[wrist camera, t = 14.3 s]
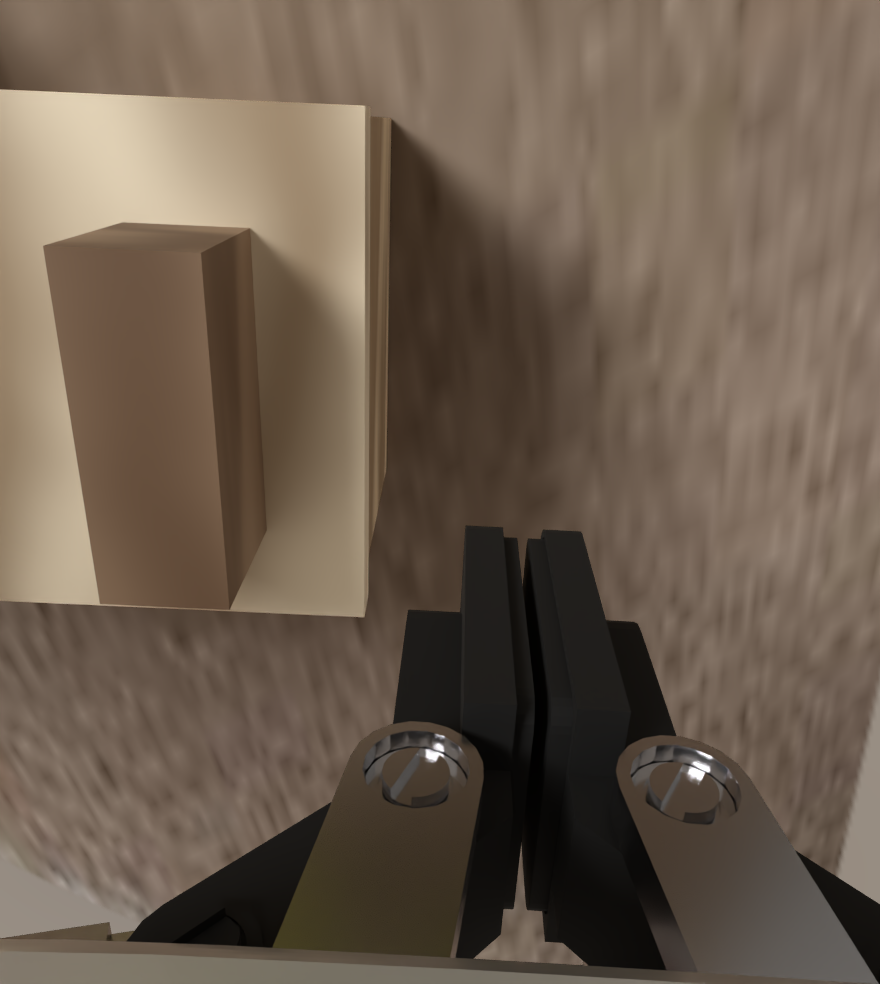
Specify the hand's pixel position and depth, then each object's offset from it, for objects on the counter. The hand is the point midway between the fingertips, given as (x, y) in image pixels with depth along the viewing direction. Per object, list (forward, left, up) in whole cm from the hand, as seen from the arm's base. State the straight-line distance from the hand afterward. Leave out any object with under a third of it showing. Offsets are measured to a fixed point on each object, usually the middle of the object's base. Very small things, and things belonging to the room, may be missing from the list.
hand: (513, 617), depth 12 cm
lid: (-13, 0, -11) cm, 17 cm away
